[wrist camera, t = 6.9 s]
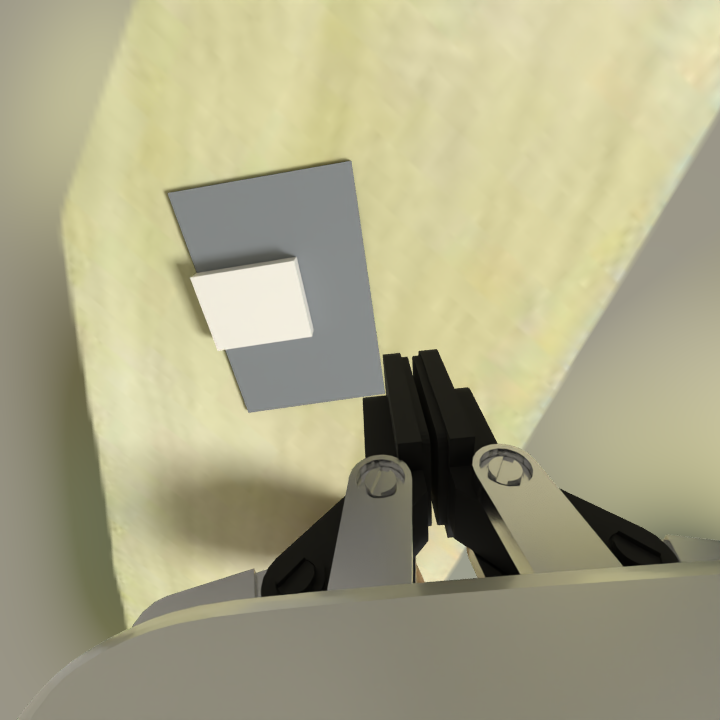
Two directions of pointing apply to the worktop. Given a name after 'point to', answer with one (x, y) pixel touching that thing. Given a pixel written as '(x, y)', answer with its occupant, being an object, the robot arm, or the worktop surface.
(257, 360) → the mat
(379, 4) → the worktop surface
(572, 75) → the worktop surface
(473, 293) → the worktop surface
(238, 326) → the tile
